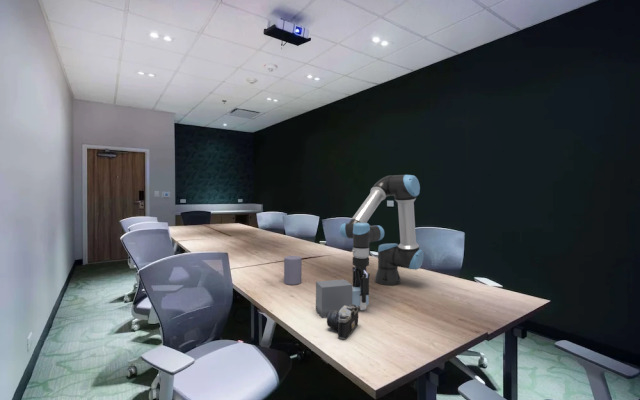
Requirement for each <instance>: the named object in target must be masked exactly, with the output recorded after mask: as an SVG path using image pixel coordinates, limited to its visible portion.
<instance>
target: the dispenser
mask: <svg viewBox="0 0 640 400" xmlns="http://www.w3.org/2000/svg"><path fill="white" fill-rule="evenodd" d="M352 291H353V283H351V282H349V281H348V280H346V279H331V280H320V281H315V311H316V313H317V314H318V316H320V318H321V319H327V316H328V313H329V312H330V311H331V310H336V311H340V309H341V308H342V307H343V306H344V305H345V306H349V305H352Z"/></svg>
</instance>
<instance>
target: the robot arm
mask: <svg viewBox="0 0 640 400" xmlns="http://www.w3.org/2000/svg"><path fill="white" fill-rule="evenodd" d="M420 191H421V186H420V182H419V179H418V178H417V176H415V175H414V174H413V175H412V174H397V175H396V174H395V175H390V174H389V175H386V176H384V177H382V178H380V179H379V180H378V181H376V183H375V184H373V186H372V187H371V188H370V191H369V192H370V193H369V195H368V196H367V197H366V199H365V200H364V201H363V202H362V204H361V205H360V207H359V208H358V209H357V211H356V212H355V214H354V215H353V216H352V218H350V220H349V222H344V223H342V224H341V225H340V227H339V233H340V235H341V237H342V238H344V239H349V240H350V239H352V249H351V252H352V265H353V266H352V269H351V270H352V286H353V287H360V289H361V294H359V295H360V306H359V310H360V311H363V310H367V305H366V295H369V296H370V273H368V272H367V267H368V266H370V258H369V257H370V243H373V242H378V241H381V240H383V238H384V237H385V229H384V228H383V226H381V225H375V224H374V225H371V224H369V223H368V221H369V219H370V218H371V217H372V215H373V214H374V212H375V211H376V209H377V208H378V206H379V205H380V204H381V202H382V201H384V200H386V198H387V197H394V201H396V203H397V209H398V210H397V211H398V224H399V228H398V229H399V240H400V243H399V244H398V243H395V242H394V243H382V244H379V245H378V249H377V250H378V251H377V255H378V256H377V269H376V270H377V271H376V273H375V276H374V282H375V283H377V284H379V285H384V286H396V285H400V284H401V277H400V274H399V271H398V268H402V269H407V270H413V271H414V270H415V271H417V270H419V269H420V268H421V266H422V264H423V262H424V258H425V257H424V256H425V255H424V254H425V253H424V250H422V249H421V248H420V245H419V244H418V242H417V237H416V220H415V204H414V203H415V201H416V199H417V197H418V196H419V195H420Z"/></svg>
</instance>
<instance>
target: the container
mask: <svg viewBox="0 0 640 400" xmlns="http://www.w3.org/2000/svg"><path fill="white" fill-rule="evenodd" d="M283 259H284V260H283V263H284V264H283V266H284V267H283V268H284V269H283V284H285V285H288V286H296V285H300V284H302V271H303V270H302V268H303V265H302V264H303V263H302V259H303V257H302V256H300V255H299V256H298V255H287V256H284V258H283Z"/></svg>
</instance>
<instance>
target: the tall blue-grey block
mask: <svg viewBox="0 0 640 400" xmlns="http://www.w3.org/2000/svg"><path fill="white" fill-rule="evenodd" d="M359 294H361V289H360V287H353V291H352V304H354V305H356V306H357V307H360V295H359ZM369 298H370V294H369V295H366V306H369Z"/></svg>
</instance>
